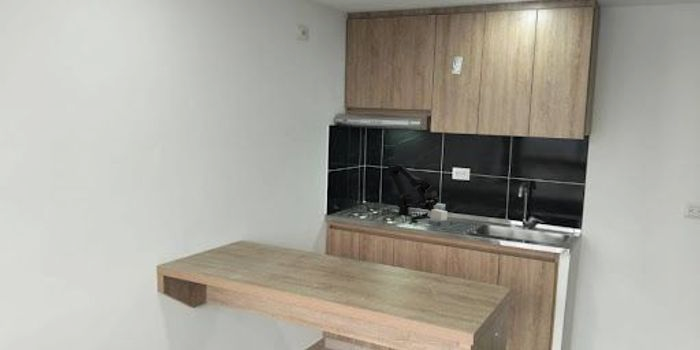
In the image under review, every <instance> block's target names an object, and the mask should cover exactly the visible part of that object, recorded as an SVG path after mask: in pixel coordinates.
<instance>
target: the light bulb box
mask: <svg viewBox="0 0 700 350" xmlns="http://www.w3.org/2000/svg"><path fill="white" fill-rule="evenodd" d="M434 209H439V210H443V211H446V203H440V202H438V203H437V204H436V205H434ZM427 217H428V218H429V217H430V218H431V211H429V210H428V209H427Z"/></svg>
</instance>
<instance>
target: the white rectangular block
mask: <svg viewBox="0 0 700 350" xmlns="http://www.w3.org/2000/svg"><path fill="white" fill-rule="evenodd" d="M430 219H431V220H434V221H441V220H448V210H445V211H443V210H439V209H432V210H431V217H430Z"/></svg>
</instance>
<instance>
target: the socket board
mask: <svg viewBox="0 0 700 350" xmlns="http://www.w3.org/2000/svg"><path fill="white" fill-rule="evenodd" d="M415 221H417V222H421V223H424V224H427V225H430V226H431V225H432V226H434V227H446V226H452V225H453V219H451V218H450V219H447V220H441V221H434V220H431V218H429V217H427V218H417V219H415Z"/></svg>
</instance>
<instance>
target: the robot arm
mask: <svg viewBox="0 0 700 350" xmlns="http://www.w3.org/2000/svg"><path fill="white" fill-rule="evenodd" d="M386 168H387V169H386V173H387V174H388V176H389V177H390V178H391V179H392V180H393V182H394V185H395V187H396V190H397V191H398V193H399V195H400V196H399V202H398V203H397V207H398V216H409V215H410V209H409V208H411V207H412V205H413V202H414V201H413V197H412V194H411V193H407V190H406V188H405V186H404V183H403V182H402V179H401V177H400V173H401V174H402V175H403V176H404V177H405V178H406V179H407V180H409V181H408V182H409V184H410V186H412V187H414V191H413V192H414V193H417V194H418V196H419V197H418V198H419V200H417V202H416V204H415V206H416V207H417V208H420V207H421V205H423V208H424V209H426V210H427V211H428V210H429V211H431V210H432V209H434V205H436V204H437V203H440V201H441V200H440V198H439V197H437V195H438V192H437V191H436V190H433V191H432V192H427V191H428V190H429V189H430V188H431V187H432V186H433V185H434V181H433V180H431V179H430V178H429V177H425V178H424V179H423V180H422V178H420V177H419V176H415V174H413V173H412V172H411V171H410V170H409V169H407V167H406V166H405V165H403V164H399V165H393V166H392V165H390V166H387V167H386Z"/></svg>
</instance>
